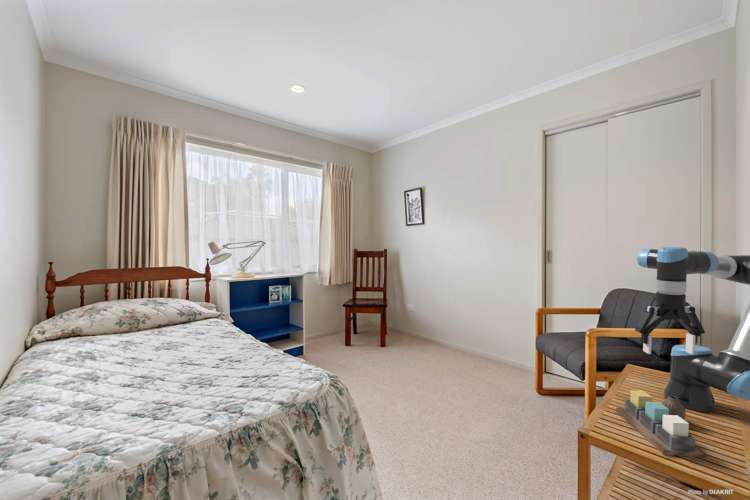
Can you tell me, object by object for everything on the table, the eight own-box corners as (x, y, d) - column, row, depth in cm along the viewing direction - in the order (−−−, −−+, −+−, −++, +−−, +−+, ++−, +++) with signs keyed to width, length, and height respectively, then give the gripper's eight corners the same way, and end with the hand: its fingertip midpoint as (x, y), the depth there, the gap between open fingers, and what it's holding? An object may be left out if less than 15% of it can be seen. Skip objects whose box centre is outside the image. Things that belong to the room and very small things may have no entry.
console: (649, 412, 123) (650, 399, 123) (705, 457, 99) (706, 440, 99) (616, 411, 125) (616, 397, 124) (663, 454, 101) (663, 438, 100)
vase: (687, 428, 114) (689, 404, 113) (662, 422, 117) (663, 399, 117) (682, 418, 120) (683, 395, 119) (658, 412, 123) (659, 390, 123)
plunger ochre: (642, 403, 121) (643, 390, 121) (651, 409, 117) (651, 396, 117) (630, 402, 122) (630, 390, 122) (638, 409, 118) (638, 396, 117)
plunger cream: (676, 429, 106) (677, 415, 105) (688, 438, 101) (688, 423, 101) (662, 428, 106) (662, 414, 106) (672, 437, 102) (673, 422, 101)
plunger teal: (658, 415, 114) (659, 402, 113) (668, 423, 109) (668, 409, 109) (645, 414, 114) (645, 401, 114) (654, 422, 110) (654, 408, 109)
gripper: (701, 289, 111) (698, 349, 113) (623, 290, 114) (622, 348, 115) (722, 294, 104) (718, 357, 105) (638, 295, 106) (636, 356, 108)
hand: (668, 352), depth 110 cm, fingers open, 13 cm apart
